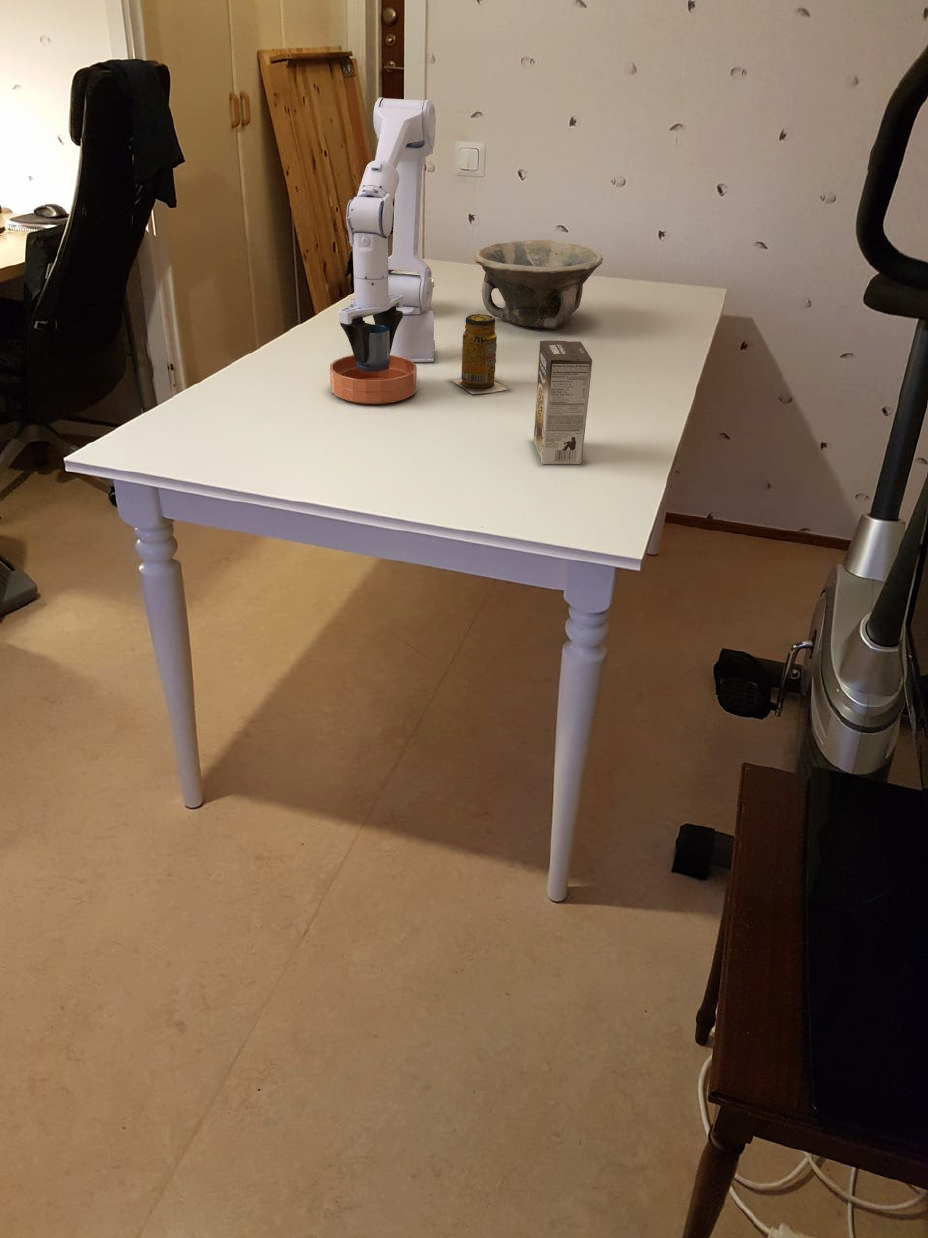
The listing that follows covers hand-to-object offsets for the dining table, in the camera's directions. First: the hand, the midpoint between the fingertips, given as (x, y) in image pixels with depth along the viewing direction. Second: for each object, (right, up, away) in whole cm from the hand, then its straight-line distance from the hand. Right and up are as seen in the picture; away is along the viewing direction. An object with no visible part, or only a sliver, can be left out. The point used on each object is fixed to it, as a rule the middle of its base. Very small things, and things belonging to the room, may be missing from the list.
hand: (373, 357), depth 163 cm
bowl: (+31, +19, +43) cm, 57 cm away
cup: (0, -1, +1) cm, 2 cm away
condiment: (+19, -3, +8) cm, 20 cm away
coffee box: (+30, -20, -18) cm, 40 cm away
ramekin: (+2, +24, +48) cm, 54 cm away
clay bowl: (0, -5, +3) cm, 6 cm away
